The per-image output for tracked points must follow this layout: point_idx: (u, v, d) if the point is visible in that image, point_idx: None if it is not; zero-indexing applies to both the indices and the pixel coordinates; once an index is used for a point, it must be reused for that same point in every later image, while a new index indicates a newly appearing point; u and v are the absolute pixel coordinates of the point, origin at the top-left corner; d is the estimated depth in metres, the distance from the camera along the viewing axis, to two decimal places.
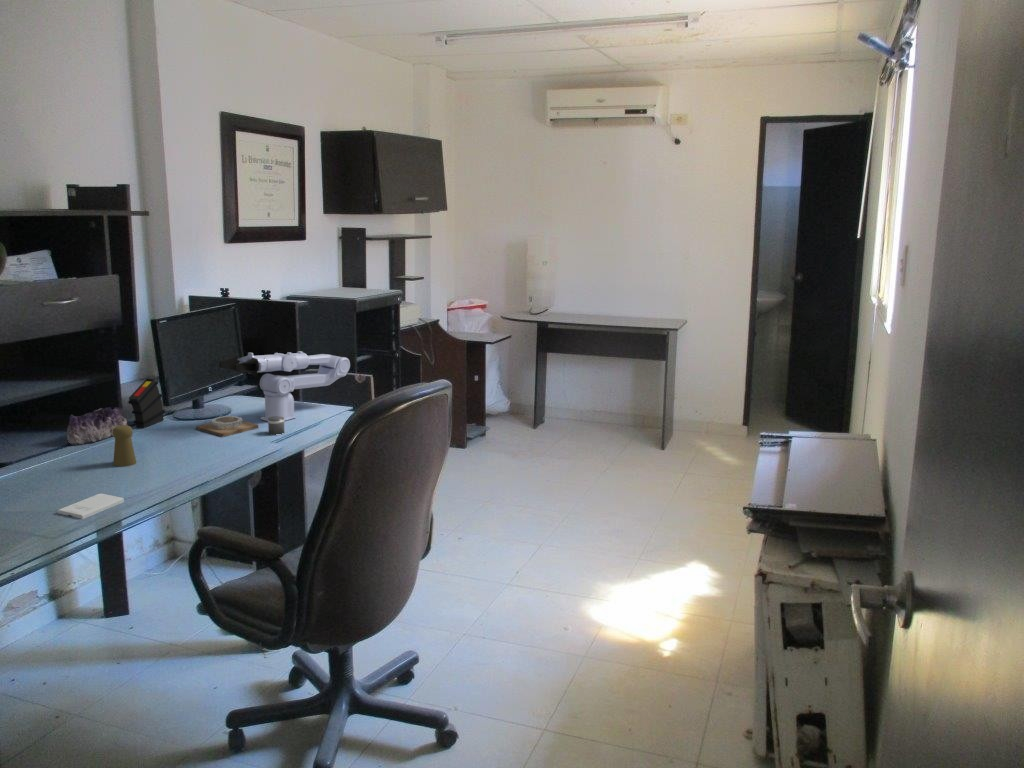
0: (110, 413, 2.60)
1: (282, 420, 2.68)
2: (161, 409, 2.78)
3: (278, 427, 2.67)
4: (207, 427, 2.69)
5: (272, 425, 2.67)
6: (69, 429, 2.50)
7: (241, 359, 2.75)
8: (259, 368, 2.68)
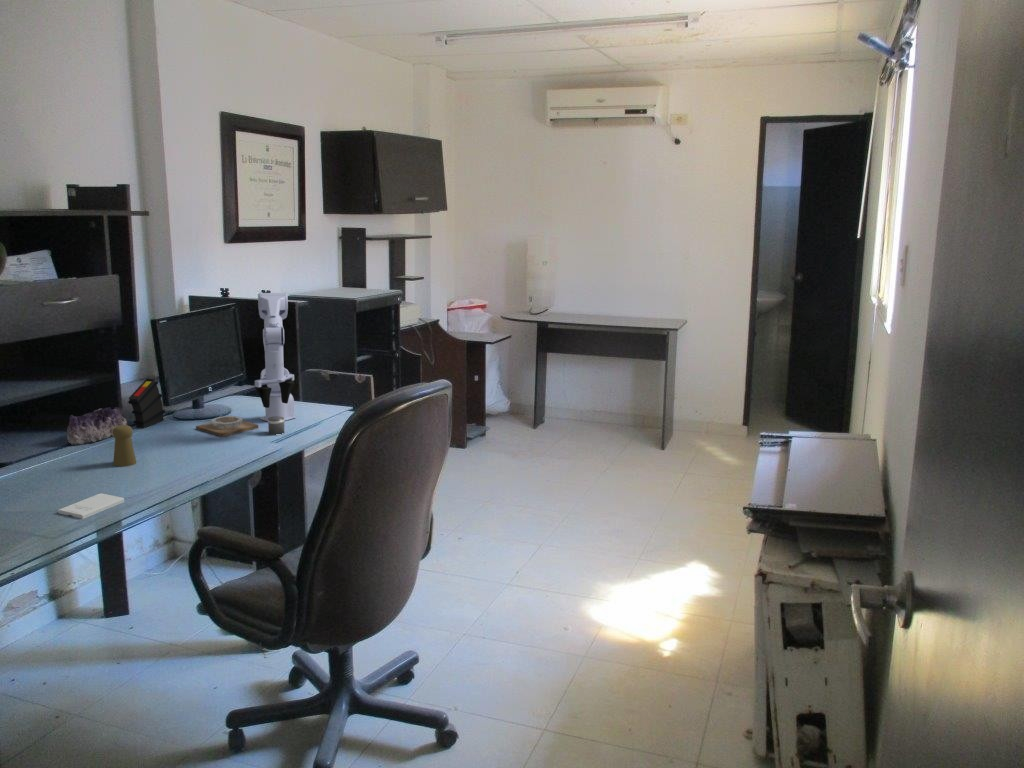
0: (110, 413, 2.60)
1: (282, 420, 2.68)
2: (161, 409, 2.78)
3: (278, 427, 2.67)
4: (207, 427, 2.69)
5: (272, 425, 2.67)
6: (69, 429, 2.50)
7: None
8: None
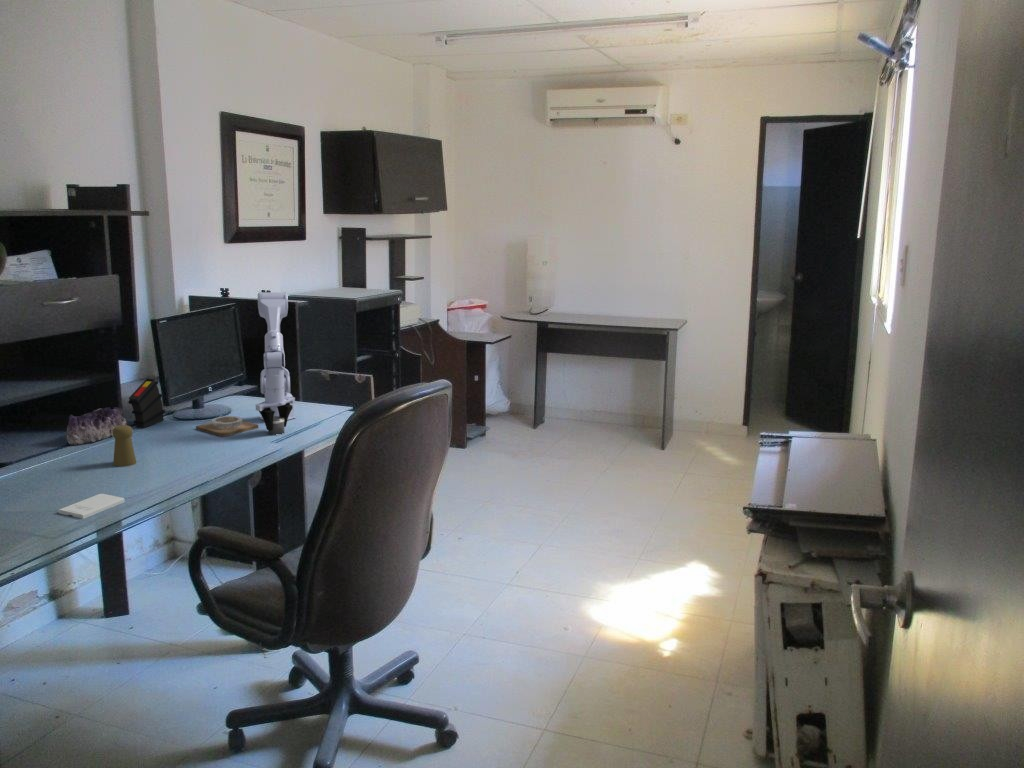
0: (109, 413, 2.59)
1: (282, 420, 2.68)
2: (161, 409, 2.78)
3: (278, 427, 2.67)
4: (207, 427, 2.69)
5: None
6: (68, 429, 2.50)
7: None
8: None
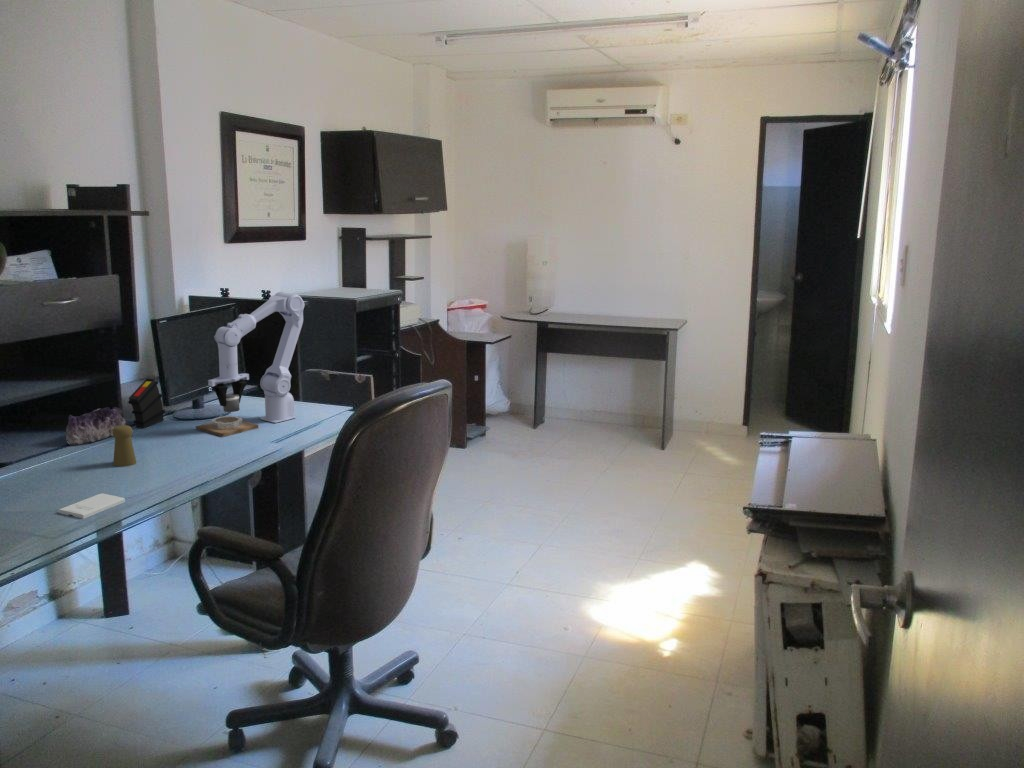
0: (109, 413, 2.59)
1: (237, 397, 2.69)
2: (161, 409, 2.78)
3: (233, 403, 2.69)
4: (207, 427, 2.69)
5: (227, 402, 2.68)
6: (68, 429, 2.50)
7: None
8: None
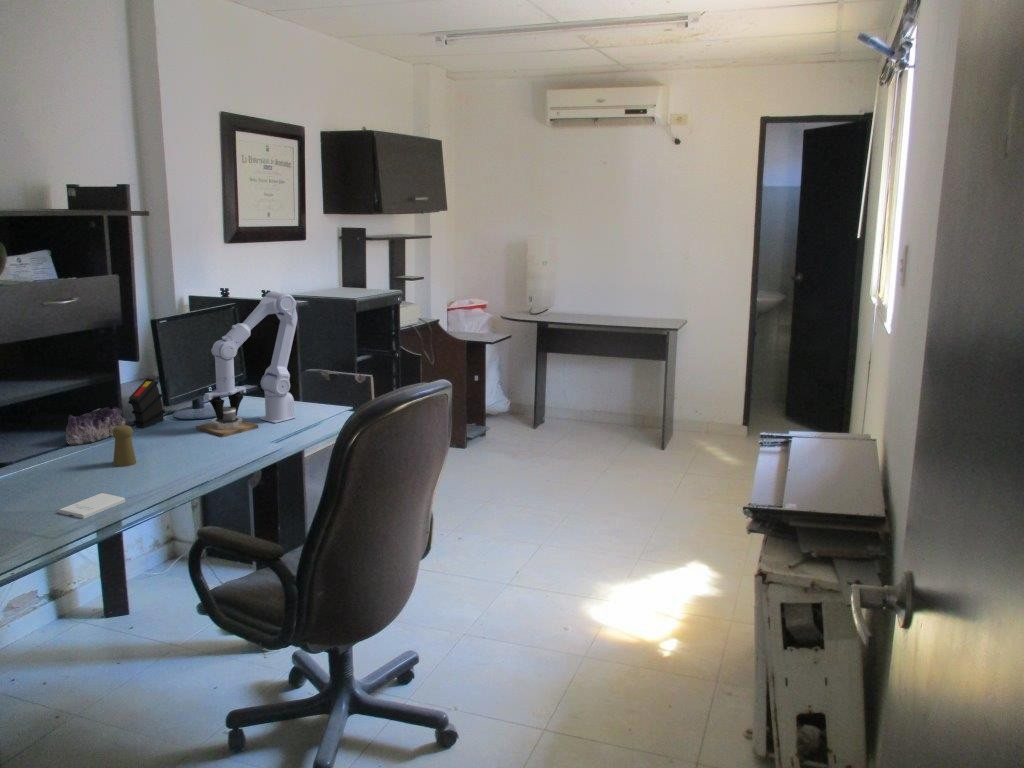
0: (109, 413, 2.59)
1: (234, 410, 2.71)
2: (161, 409, 2.78)
3: (230, 417, 2.70)
4: (207, 427, 2.69)
5: (224, 415, 2.69)
6: (68, 429, 2.50)
7: None
8: None
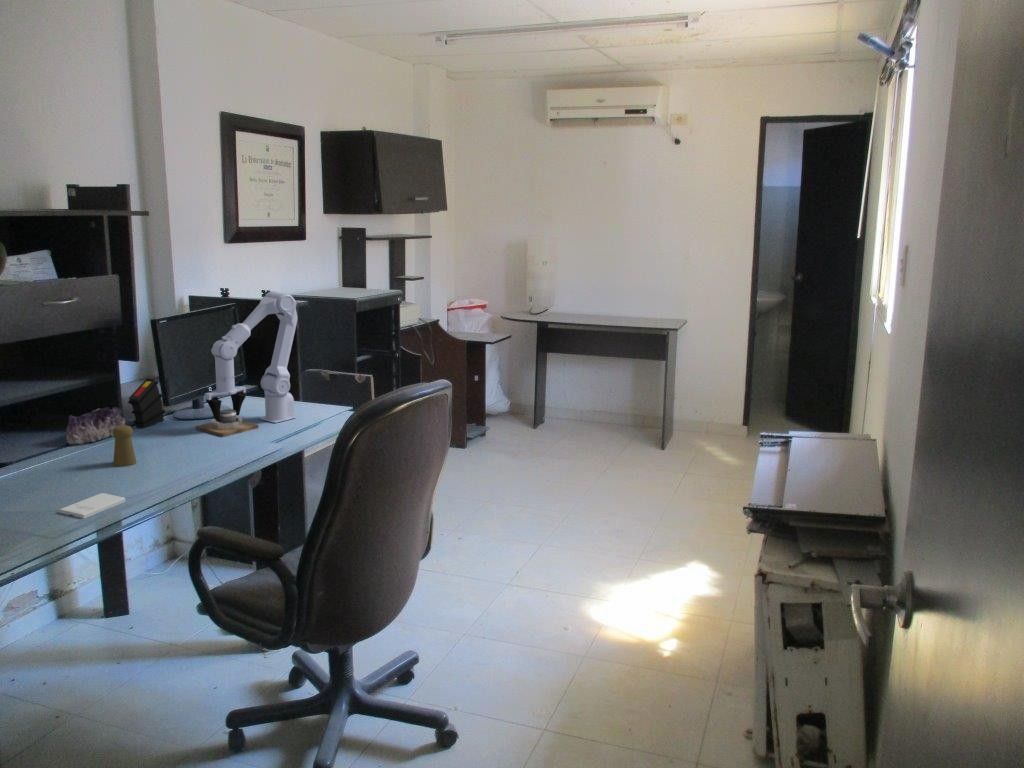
0: (109, 413, 2.59)
1: (234, 413, 2.71)
2: (161, 409, 2.78)
3: (230, 420, 2.70)
4: (207, 427, 2.69)
5: (224, 418, 2.69)
6: (68, 429, 2.49)
7: None
8: None
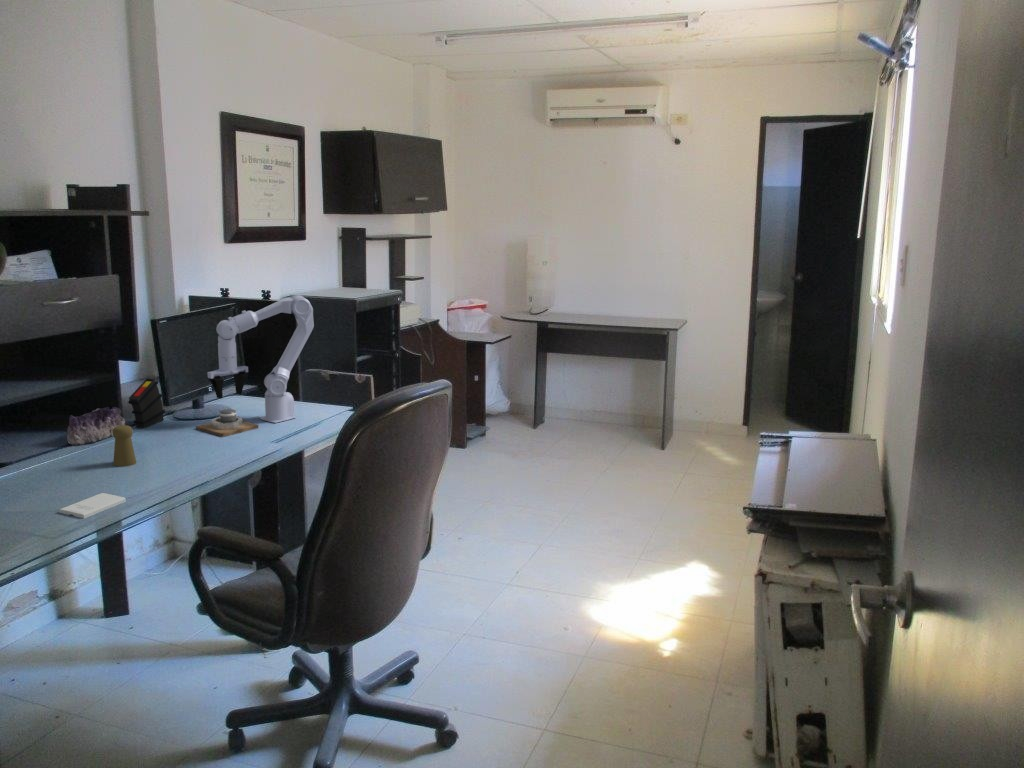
0: (109, 413, 2.60)
1: (234, 413, 2.71)
2: (161, 409, 2.78)
3: (230, 419, 2.70)
4: (207, 427, 2.69)
5: (224, 418, 2.69)
6: (69, 429, 2.49)
7: None
8: None
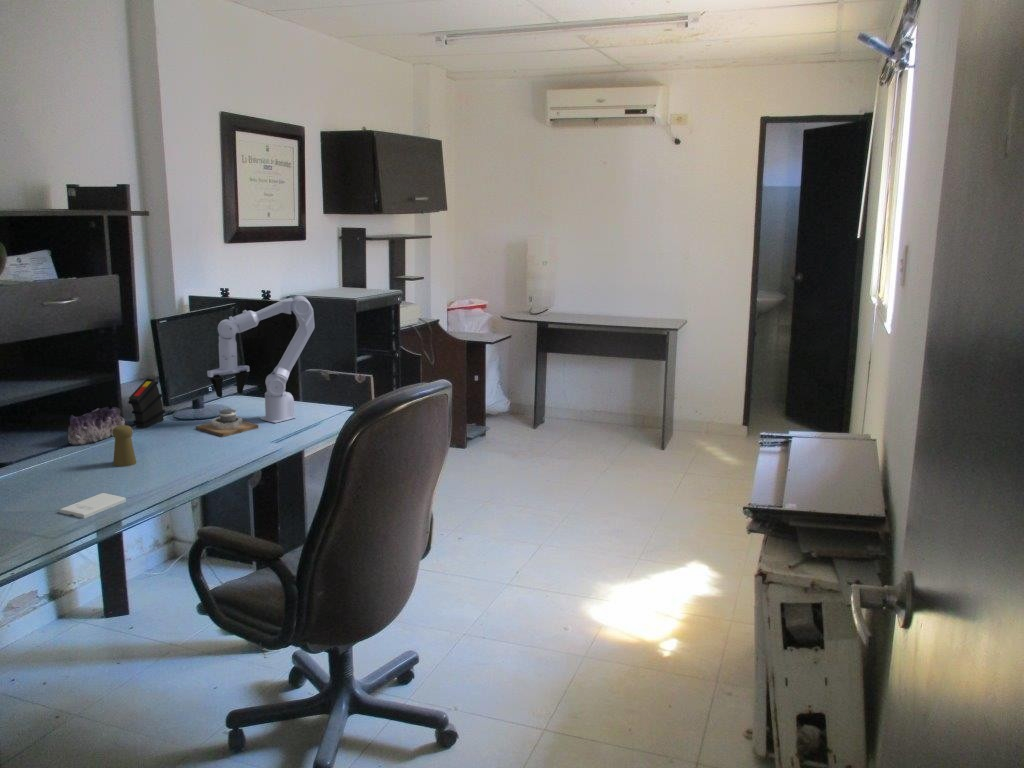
0: (109, 413, 2.60)
1: (234, 413, 2.71)
2: (161, 409, 2.78)
3: (230, 419, 2.70)
4: (207, 427, 2.69)
5: (224, 418, 2.69)
6: (70, 430, 2.49)
7: None
8: None
